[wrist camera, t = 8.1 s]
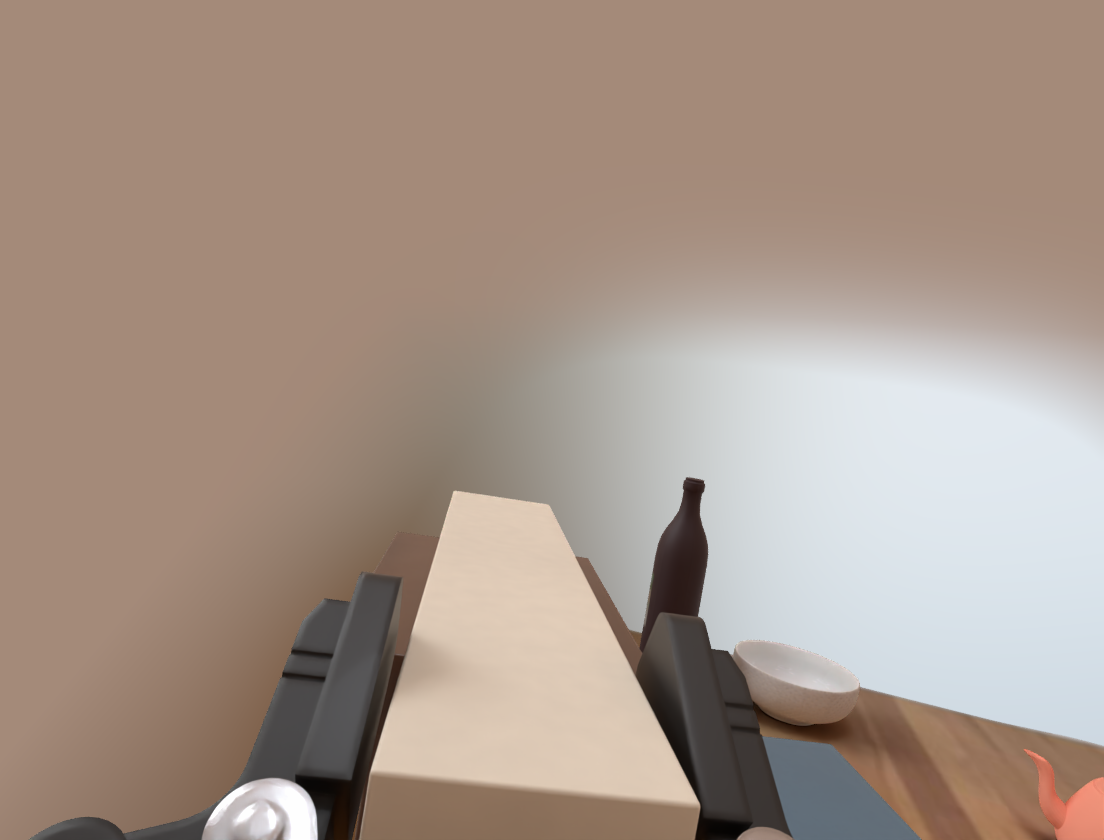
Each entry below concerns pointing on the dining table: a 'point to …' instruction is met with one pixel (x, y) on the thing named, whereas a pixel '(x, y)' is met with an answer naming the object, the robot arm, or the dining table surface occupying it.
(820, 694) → the cereal bowl
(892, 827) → the container
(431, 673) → the slat
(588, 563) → the stand
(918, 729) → the dining table surface
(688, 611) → the wine bottle
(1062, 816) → the teapot
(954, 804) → the dining table surface
